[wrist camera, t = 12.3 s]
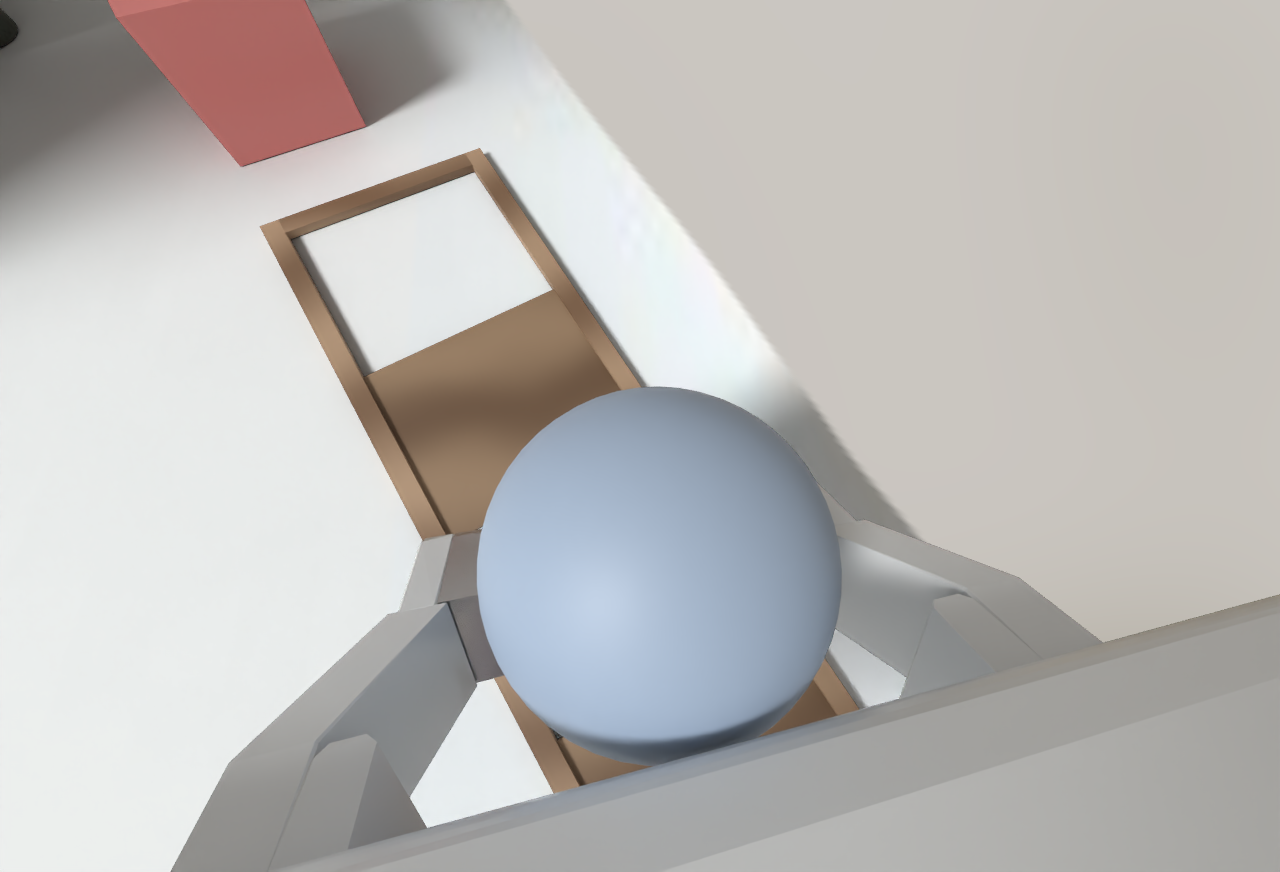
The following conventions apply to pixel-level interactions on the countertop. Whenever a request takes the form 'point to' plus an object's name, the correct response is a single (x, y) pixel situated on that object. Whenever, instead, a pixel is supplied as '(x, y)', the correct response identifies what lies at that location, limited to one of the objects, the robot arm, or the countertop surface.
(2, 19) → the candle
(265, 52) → the die
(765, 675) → the pawn
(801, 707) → the game board
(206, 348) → the countertop surface
